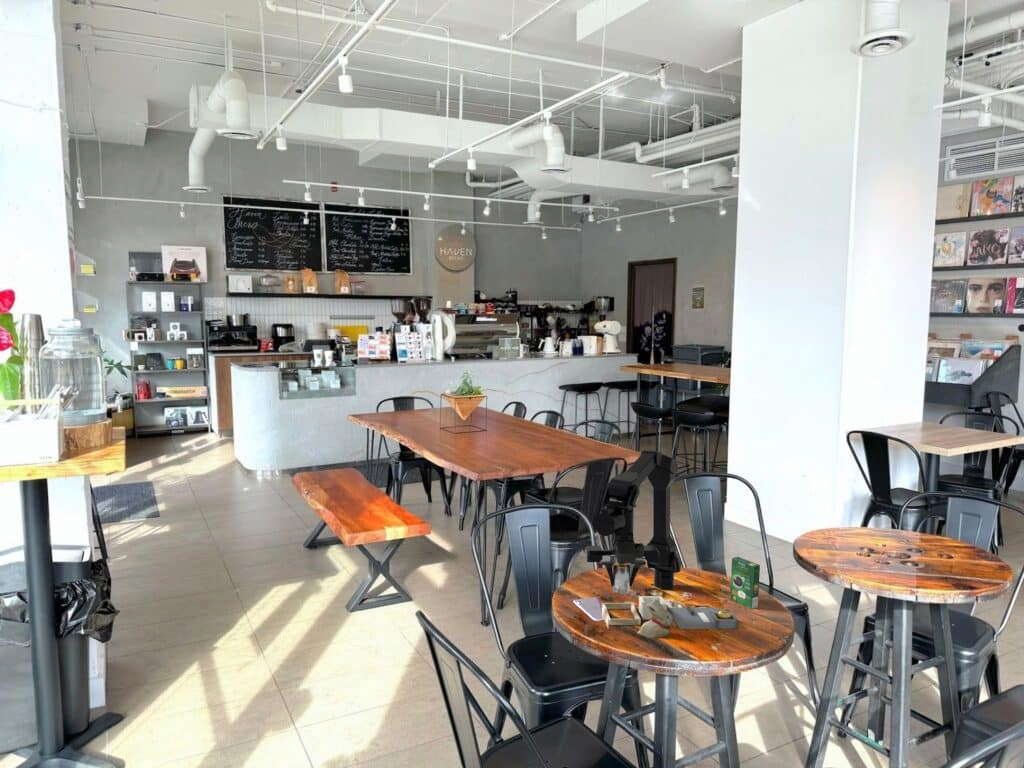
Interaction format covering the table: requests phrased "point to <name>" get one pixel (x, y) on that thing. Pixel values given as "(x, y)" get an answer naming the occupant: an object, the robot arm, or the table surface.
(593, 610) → the mobile phone
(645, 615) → the cup
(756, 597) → the coffee box
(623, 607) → the beige shallow rectangular frame
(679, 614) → the grey board with socket
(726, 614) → the button
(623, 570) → the cylinder
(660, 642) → the table surface
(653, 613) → the chocolate bunny
